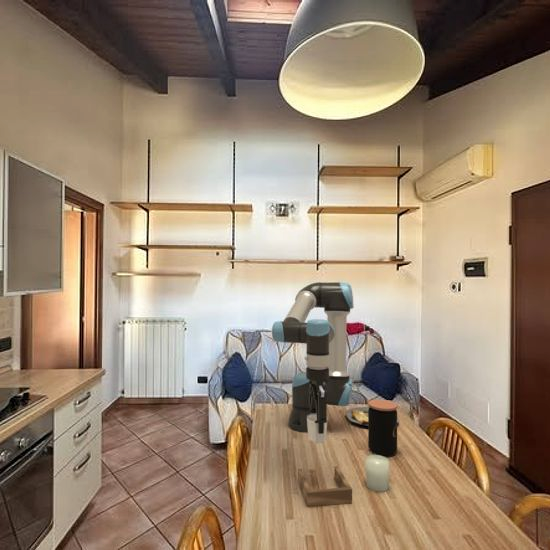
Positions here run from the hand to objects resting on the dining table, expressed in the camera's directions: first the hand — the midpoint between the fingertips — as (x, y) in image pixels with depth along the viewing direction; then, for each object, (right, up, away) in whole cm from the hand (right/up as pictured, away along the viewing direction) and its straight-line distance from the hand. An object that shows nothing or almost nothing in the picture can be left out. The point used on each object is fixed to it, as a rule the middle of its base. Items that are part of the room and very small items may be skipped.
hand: (317, 437), depth 118 cm
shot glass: (0, -1, 0) cm, 1 cm away
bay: (+1, -14, -6) cm, 15 cm away
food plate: (+32, -15, +52) cm, 63 cm away
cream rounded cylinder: (+19, -14, -3) cm, 24 cm away
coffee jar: (+28, -15, +21) cm, 37 cm away
